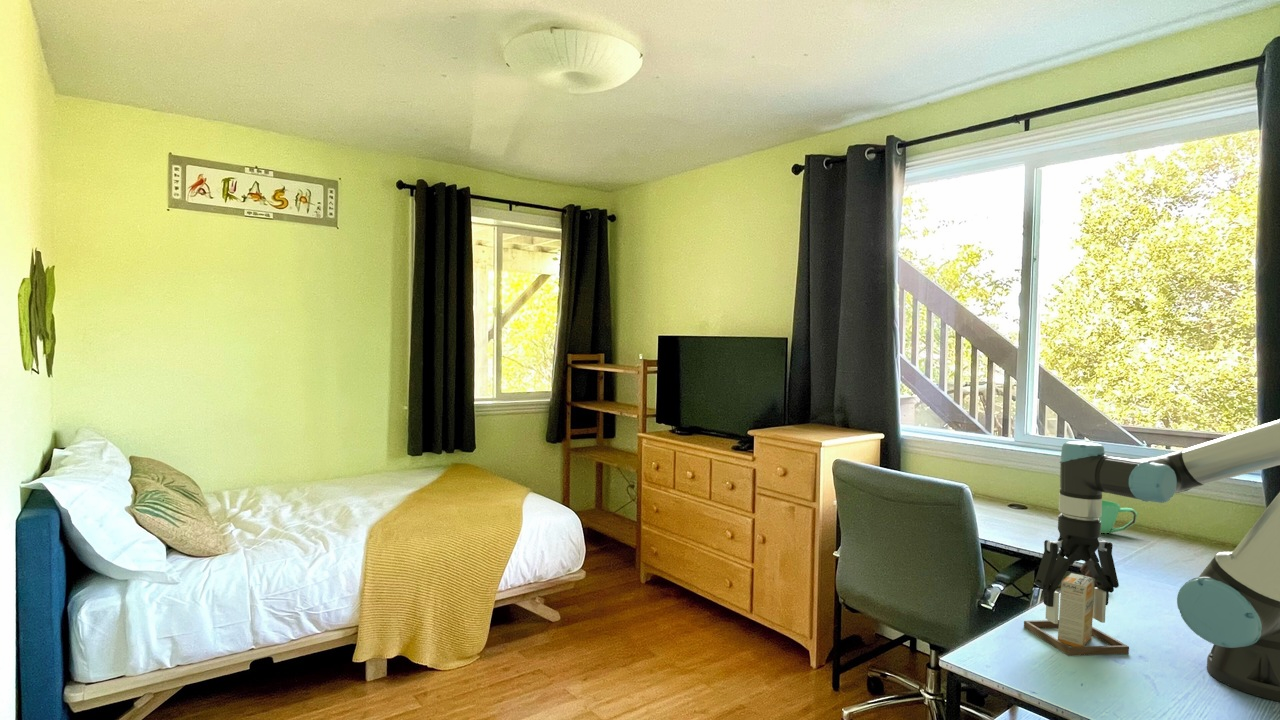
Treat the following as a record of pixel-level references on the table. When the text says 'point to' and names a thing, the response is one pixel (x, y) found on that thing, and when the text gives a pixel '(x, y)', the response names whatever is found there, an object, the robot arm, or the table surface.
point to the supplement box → (1076, 610)
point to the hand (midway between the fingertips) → (1075, 620)
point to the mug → (1113, 516)
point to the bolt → (1086, 572)
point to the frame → (1115, 647)
